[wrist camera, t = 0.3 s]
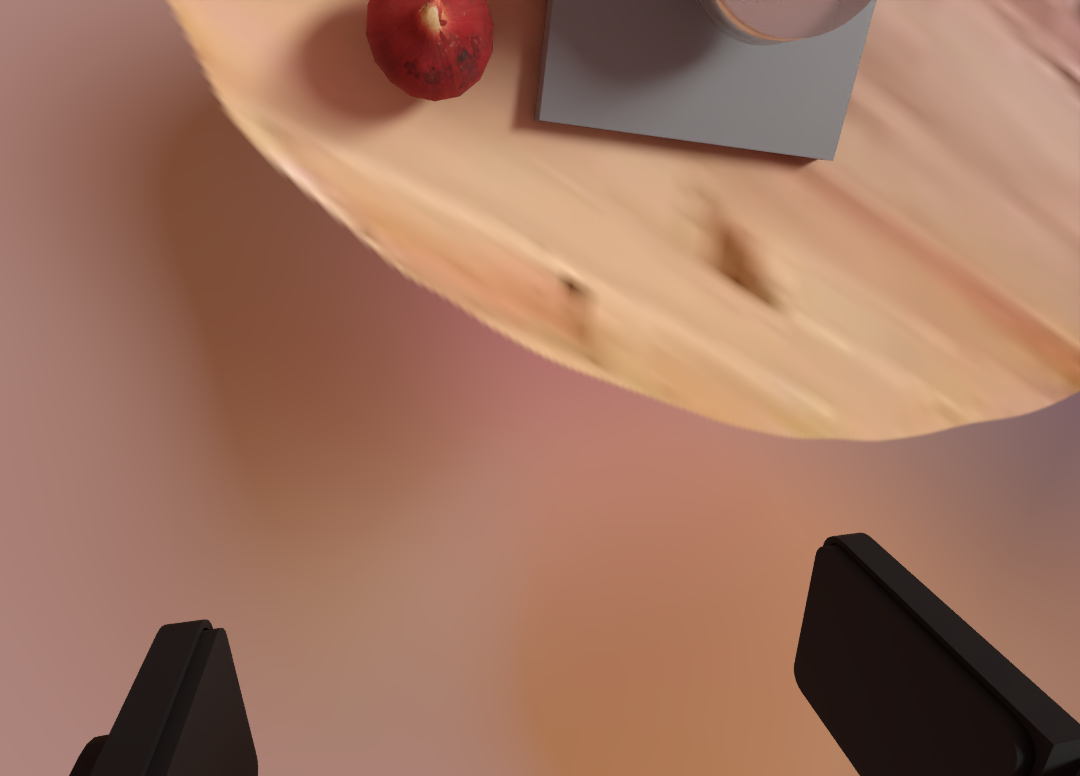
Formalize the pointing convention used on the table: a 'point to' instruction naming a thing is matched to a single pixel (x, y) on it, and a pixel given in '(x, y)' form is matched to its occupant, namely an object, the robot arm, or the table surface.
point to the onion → (431, 44)
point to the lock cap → (778, 18)
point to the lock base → (695, 77)
